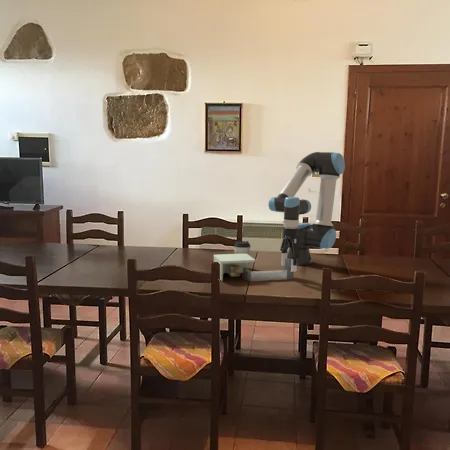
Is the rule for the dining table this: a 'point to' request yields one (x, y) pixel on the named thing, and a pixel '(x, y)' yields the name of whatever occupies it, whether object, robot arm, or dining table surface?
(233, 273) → the block
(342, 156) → the robot arm
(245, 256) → the shelf nook
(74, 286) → the dining table surface
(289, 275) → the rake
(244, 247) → the coffee cup
